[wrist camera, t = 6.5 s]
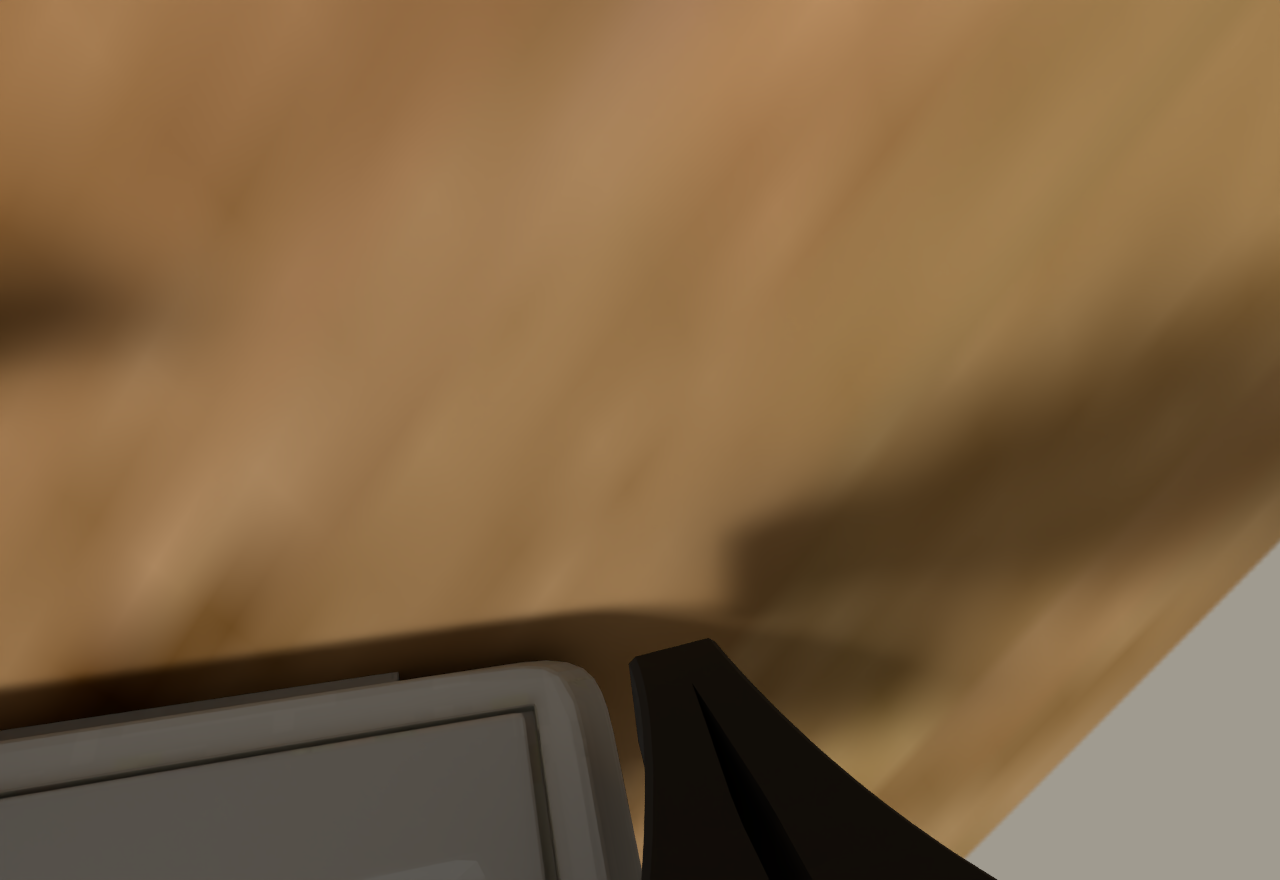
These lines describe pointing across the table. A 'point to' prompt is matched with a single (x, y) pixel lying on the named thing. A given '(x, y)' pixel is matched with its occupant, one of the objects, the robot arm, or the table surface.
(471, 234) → the table surface
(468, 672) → the digital clock
